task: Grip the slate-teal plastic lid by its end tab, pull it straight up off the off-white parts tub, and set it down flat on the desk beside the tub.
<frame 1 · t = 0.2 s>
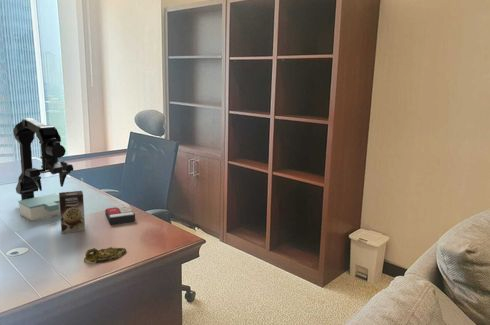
hand: (51, 188, 169), 14 cm above the table, tool pointing down, fingers open, 9 cm apart
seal: (105, 257, 137), on the table
black box: (120, 219, 174), on the table
coffee box: (73, 230, 159), on the table
lid: (42, 201, 175), point 6 cm above the table, touching tub
tub: (44, 213, 176), on the table
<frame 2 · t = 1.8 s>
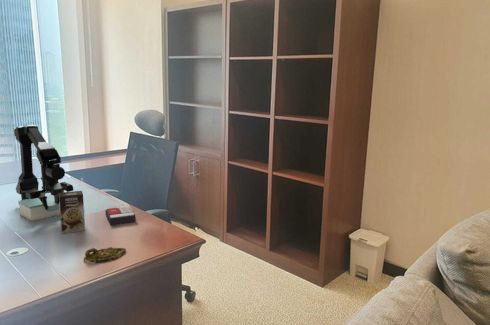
hand: (51, 208, 170), 5 cm above the table, tool pointing down, fingers closed on lid, 4 cm apart
lid: (42, 201, 175), point 6 cm above the table, touching gripper, tub
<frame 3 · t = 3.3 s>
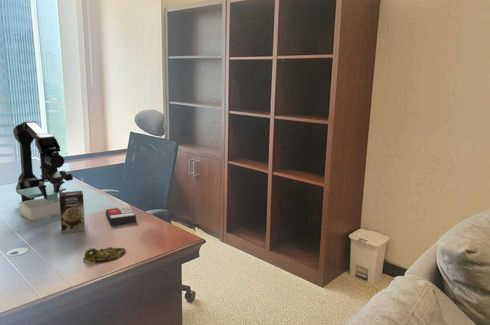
hand: (50, 198, 169), 10 cm above the table, tool pointing down, fingers closed on lid, 4 cm apart
lid: (42, 191, 174), point 11 cm above the table, touching gripper
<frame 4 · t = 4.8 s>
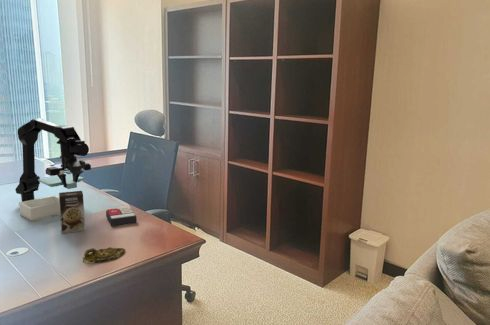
hand: (70, 186, 175), 13 cm above the table, tool pointing down, fingers closed on lid, 4 cm apart
lid: (61, 180, 180), point 15 cm above the table, touching gripper
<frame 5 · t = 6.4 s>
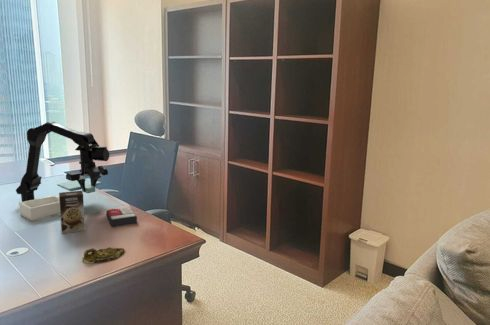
hand: (88, 191, 183), 9 cm above the table, tool pointing down, fingers closed on lid, 4 cm apart
lid: (79, 184, 188), point 11 cm above the table, touching gripper
when the fingers open (2 cm above the table, at t = 7.9 s): lid drops 2 cm, point 1 cm above the table.
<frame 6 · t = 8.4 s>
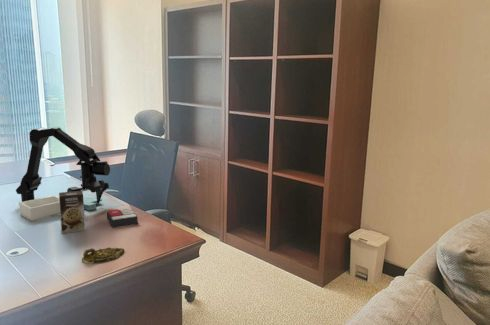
hand: (89, 204, 184), 2 cm above the table, tool pointing down, fingers open, 9 cm apart
lid: (80, 202, 190), point 1 cm above the table
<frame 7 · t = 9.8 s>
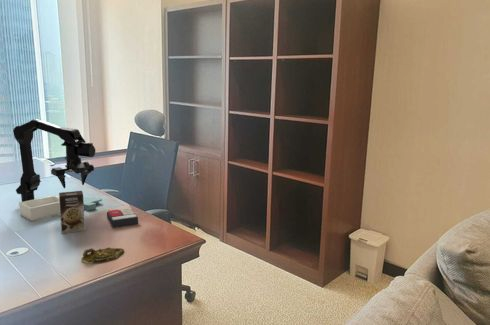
hand: (73, 186, 184), 11 cm above the table, tool pointing down, fingers open, 9 cm apart
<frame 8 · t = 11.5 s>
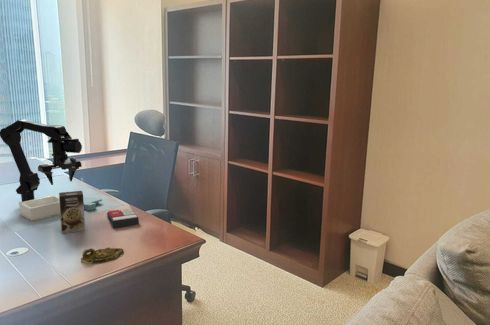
hand: (61, 183, 185), 12 cm above the table, tool pointing down, fingers open, 9 cm apart
at the end: lid inside the target area (0.1 cm from its centre), point 1.2 cm above the table; lid touching table; the gripper is holding nothing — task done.
